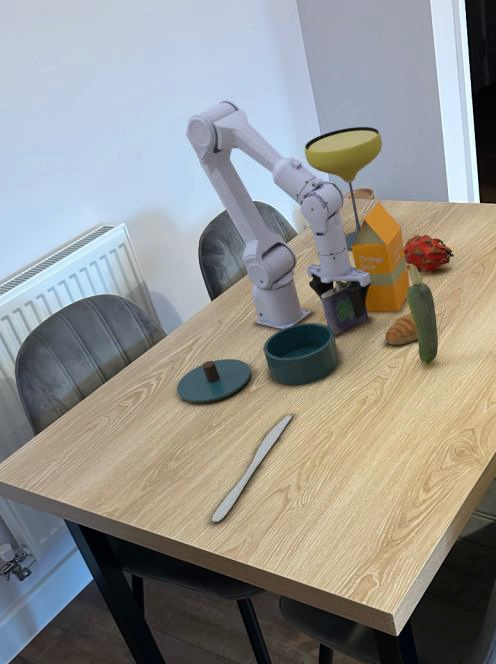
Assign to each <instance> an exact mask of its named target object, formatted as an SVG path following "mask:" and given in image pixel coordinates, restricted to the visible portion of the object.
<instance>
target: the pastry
mask: <svg viewBox="0 0 496 664" xmlns="http://www.w3.org/2000/svg"><path fill="white" fill-rule="evenodd" d="M384 335H385V343H388V344H390V345H396V346H398V345H400V346H402V345H406V344H407V343H412V342H413V341H416V340H418V331H417V327H416V324H415V322H414V320H413V317H412V314H411V311H410V312H409V313H407V314H405V315H402V316H399V317H398V318H397V319H396V321H394V323H393V324H392V325H391V326H390V327H389V328H388V329H387V331H386V332H385V334H384Z"/></svg>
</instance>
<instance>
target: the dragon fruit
mask: <svg viewBox="0 0 496 664" xmlns="http://www.w3.org/2000/svg"><path fill="white" fill-rule="evenodd" d="M404 253H405V258H406V264H411V265H414V266H415V267H416V268H417V270H418V272H419V273H420V274H421V271H422V270H423V271H427V272H428V273H429V272H430V273H432V274H434V273H439V272H442V271H444V269H443V268H440V267H441V266H445V265H446V264H450V262H451V261H450V258H451V257H453V258H454V257H455V256H454V253H453V250H452V249H451V248H450V247H449V246H447V244H444V241H443V240H441V239H440V238H432V237H431V236H430V235H428V234H423V236H421V235H419V234H415V235H413V238H408V240H407V241H406V243H405V244H404Z"/></svg>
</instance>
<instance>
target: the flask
mask: <svg viewBox="0 0 496 664" xmlns="http://www.w3.org/2000/svg"><path fill="white" fill-rule="evenodd" d="M334 282H335V285H334V286H335V287H334V288H333V289H331V290H329V291H327V292H326V293H324V294H322V295H321V299H320V301H321V300H322V301H321V303H322V309H323V312H324V317H325V321H326V326H328V327H330V328H331V329H332V331H333V333H334V337H339V336H341V335H343V334H345V333H348V332H350V331H352V330H353V329H355V328H358V327H359V326H362V325H364V324H367V323H368V322H369V313H368V311H367V308H366V303H365V314H364V315H363V316H361V317H360V318H356V316H355V314H354V310H353V306H352V303H351V301H350V299H349V297H348V295H347V294H346V292H345V289H346V288H347V287H348V286H350V285H351V282H345V281H334ZM334 282H333V283H334Z"/></svg>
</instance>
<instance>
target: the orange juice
mask: <svg viewBox="0 0 496 664" xmlns="http://www.w3.org/2000/svg"><path fill="white" fill-rule="evenodd" d="M360 227H361V228H360V230H359V232H358V234H357V236H356V239H355V241H354V243H353V245H352V246H351V247H352V249H351V251H352V252H351V253H352V256H353V261H354V267H355V268H357V269H359V270H361V271H363V272H365V273H369V277H370V281H371V284H370V286H369V289H368V292H367V296H366V308H367V312H392V313H393V312H394V313H395V312H396V313H397V312H399V310H400V309H401V308H402V306H403V304H404V302H405V301H407V292H408V289H409V288H410V286H411V285H410V279H409V274H408V273H409V272H407V273H406V272H405V270H404V269H405V266H406V265H407V263H406V258H405V256H406V255H405V253H404V249H405V246H404V242H403V235H402V234H403V233H402V227H401V226H400V225H399V223H398V222H397V221H396V220H395V219H394V218H393V217H392V216H391V215H390V213H389V212H388V211H387V210H386V209H385V207H384V206H383V205H382V204H381V203H380V202H379V201H378V202H377V203H376V204H375V205H374V206H373V208H372V209H371V210H370V211H369V212H368V213H367V215H366V216H365V217H364V218H363V221H362V224H361V225H360Z"/></svg>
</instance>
